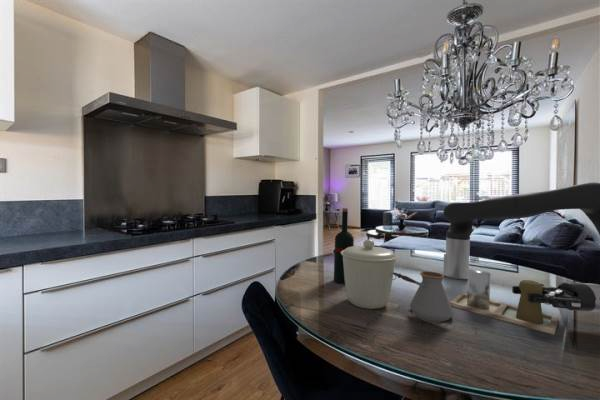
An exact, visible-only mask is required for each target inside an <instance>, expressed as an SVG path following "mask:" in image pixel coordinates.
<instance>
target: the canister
mask: <svg viewBox="0 0 600 400" xmlns="http://www.w3.org/2000/svg"><path fill="white" fill-rule="evenodd" d="M341 255H342V256H343V265H344V278H345V284H344V285H345V294H346V298H347V300H348V301H349V302H350V304H351V305H354V306H356V307H359V308H363V309H369V310H373V309H374V310H376V309H382V308H384V307H385V306H387V304H388V303H389V301H390V297H391V292H392V286H393V280H392V279H394V274H391V273H395V265H396V260H398V255H397V254H396V253H395V252H393V251H392V250H390V249H388V248H385V247H380V246H379V247H378V246H375V242H374V240H372V239H370V238H369V239H364V241H363V245H354V246H352V247H348V248H346V249H345V250H343V251H341ZM390 274H391V275H390ZM390 277H391V279H390Z"/></svg>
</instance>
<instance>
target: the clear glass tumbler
mask: <svg viewBox="0 0 600 400" xmlns="http://www.w3.org/2000/svg"><path fill="white" fill-rule="evenodd" d="M491 274H492V273H491V272H490V271H487V270H483V269H477V268H469V270H468V279H467V288H466V289H467V291H466V294H467V305H468V306H471V307H475V308H478V309H482V310H488V309H489V302H490V300H491V299H490V298H491V297H490V295H491V293H490V292H491Z"/></svg>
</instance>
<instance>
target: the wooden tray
mask: <svg viewBox="0 0 600 400" xmlns="http://www.w3.org/2000/svg"><path fill="white" fill-rule="evenodd" d="M449 302H450V305H451V307H454V308H457V309H460V310H466V311H469V312H472V313H475V314H480V315H483V316H487V317H489V318H490V317H491V318H494V319H497V320H501V321H504V322H508V323H512V324H515V325H519V326H523V327H526V328H528V329H533V330H536V331H539V332H543V333H547V334H551V335H553V336H555V334H556V330H557V326H558V323H559V316H558V315H553V314H551V313H547V312H546V313H545V312H542V316H543V324H541V325H538V324H534V323H530V322H527V321H523V320H519V319H517V318H516V314H517V309H518V305H513V304H508V303H504V302H501V301H496V300H492V299H490V302H489V309H488V310H482V309H478V308H475V307H471V306H468V305H467V293H463V292H461V293H459V294H458V295H457V296H456V297H454V298H453V299H452V300H449Z"/></svg>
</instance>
